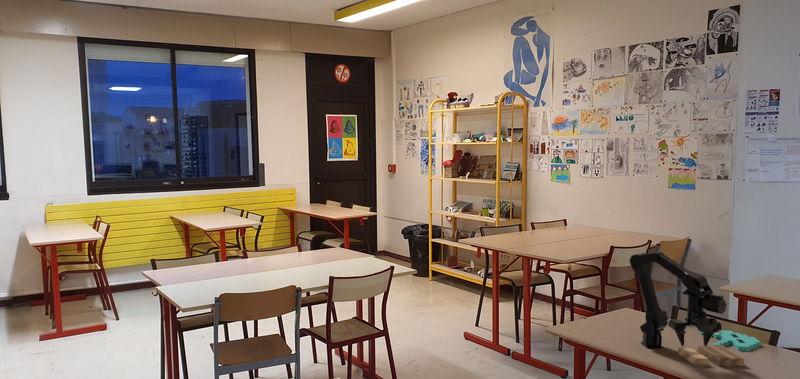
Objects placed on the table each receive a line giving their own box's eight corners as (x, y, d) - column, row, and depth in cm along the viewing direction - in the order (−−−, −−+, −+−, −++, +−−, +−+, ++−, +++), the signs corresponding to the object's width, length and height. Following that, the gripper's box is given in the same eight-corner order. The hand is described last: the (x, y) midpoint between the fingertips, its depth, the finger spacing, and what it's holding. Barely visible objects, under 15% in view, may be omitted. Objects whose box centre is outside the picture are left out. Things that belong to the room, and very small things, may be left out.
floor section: (718, 366, 212) (719, 358, 211) (697, 352, 226) (698, 345, 225) (743, 366, 212) (744, 358, 212) (721, 352, 226) (721, 345, 226)
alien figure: (714, 349, 230) (767, 353, 226) (714, 344, 230) (768, 348, 226) (698, 333, 250) (747, 336, 246) (699, 328, 250) (747, 332, 246)
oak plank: (678, 354, 224) (678, 347, 224) (690, 354, 225) (690, 347, 224) (695, 366, 212) (696, 359, 212) (708, 366, 213) (708, 358, 212)
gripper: (683, 313, 208) (681, 353, 210) (731, 313, 209) (729, 353, 210) (668, 305, 219) (666, 343, 221) (714, 304, 220) (712, 342, 221)
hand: (693, 345), depth 218 cm, fingers open, 9 cm apart
